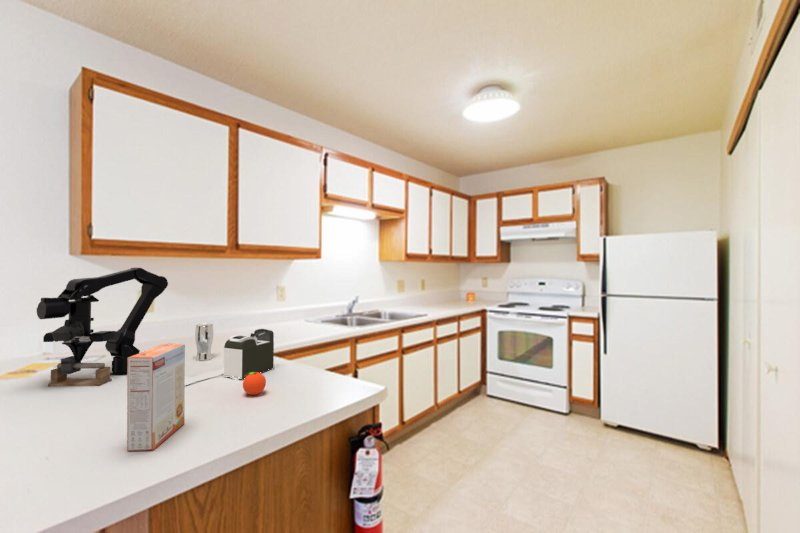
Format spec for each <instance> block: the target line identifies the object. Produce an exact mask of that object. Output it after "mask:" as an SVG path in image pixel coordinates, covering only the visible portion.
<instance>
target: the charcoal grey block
mask: <svg viewBox="0 0 800 533" xmlns="http://www.w3.org/2000/svg"><path fill="white" fill-rule="evenodd" d="M60 363H61V374H67V375H71V374H74V373H75V374H76V373H77V372H80V371H81V370H82V368H78V369H73V363H82V361H80V362H77V361H76V359H75V357H74V355H71V356H67V357H65V358H61V359H60Z"/></svg>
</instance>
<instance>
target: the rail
mask: <svg viewBox="0 0 800 533" xmlns="http://www.w3.org/2000/svg"><path fill="white" fill-rule="evenodd" d="M78 368H81V369H95V377H92V378H87V377H85V378H83V377H82V378H79V377H75V378H70V377H69V378H68V374H61V362H59V363H58V364H57V365H56V368H53V369H51V370H50V383H47V387H101V386H103V385H105V384H107V383H109V382H111V381H113V378H112V377H111V375H110V373H111V366H106V363H104V362H81V363H73V369H78Z"/></svg>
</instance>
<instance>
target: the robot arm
mask: <svg viewBox="0 0 800 533" xmlns="http://www.w3.org/2000/svg"><path fill="white" fill-rule="evenodd" d="M133 280H136V282H138V283H139V284H142V285H141V287H140V288H141V293H140V296H139V298H138V299H137V301H136V302H135V304H134V306H133V308H131V311H130V312H129V313H128V314H129V315H127V317H126V319H125V321H124V322H123V324H122V326H121V327H120V328H118V330H117V331H116V330H99V331H95V332H94V329H91V328H92V327H91V324H92V322H93V321H95V320H94V317H92V303H95V302H96V303H98V302H99V301H100V300H99V298H97V297H95V295H93V294H96V293H98V292H100V291H101V290H102V289H105V288H106V287H111V286H114V285H118V284H121V283H125V282H128V281H133ZM168 285H169V281H168V279H167V277H166V276H163V275H161V276H160V275H157V274H155V273H153V272H150V271H147V270H145V269H144V268H142V267H131V268H128V269H124V270H120V271H117V272H112V273H109V274H106V275H101V276H96V277H82V278H74V279H71V280H69V281H68V283H67V284H66V287H65V289H63V291H62V292H61V293H60V294H59V295H58V296H57V297H41V298H40V302H39V303H38V305H37V307H36V315H37V317H38V319H39V320H47V319H56V318H57V319H61V318H65V317H66V316H67V315H68V319H65V321H64V323H63V324H64V325H62V326H60V327H58V328H57V329H55V330H53V331H50V332H47V333H45V334H44V335H43V339H42V342H43V343H52V342H56V343H57V342H61V344H62V345H65V346H66V347H68V348H69V349H70V350H71V353H72V356H74V357H75V359H76V361H77V362H80V361H81V362H82V361H83V359H84V357H85V356H86V353H87V351H88V350H89V348H90V347H91V346H92V345H93V343H101V342H105V345H104V346H105V350H106V351H107V352H108V353H109V354H110V356H111V357H112V360H111V372H110V376H117V375H118V376H120V375H121V376H122V375H126V376H127V358H128V357H131V356H133V355H136V354H139V353H141V350H139V348H137V347H136V346H134V345H135V341H136V332H137V330H138V328H139V326H140V325H141V323H142V322H143V319H144V318H145V316H146V315H147V313H148V311H149V310H150V307H151V306H152V304H153V302H154V301H155V299H156V298H157V297H159V296H160V295H162V294H163V293H164V291H165V290H166V289H167V288H168Z"/></svg>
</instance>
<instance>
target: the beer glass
mask: <svg viewBox="0 0 800 533" xmlns="http://www.w3.org/2000/svg"><path fill="white" fill-rule="evenodd" d="M194 336H195V337H194V339H195V346H196V357H195V361H197V360H206V361H210V360H212V359H211V358H212V344H213V340H214V324H213V323H200V324H199V323H198V324H196V325H195V333H194ZM209 359H210V360H209Z"/></svg>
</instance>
